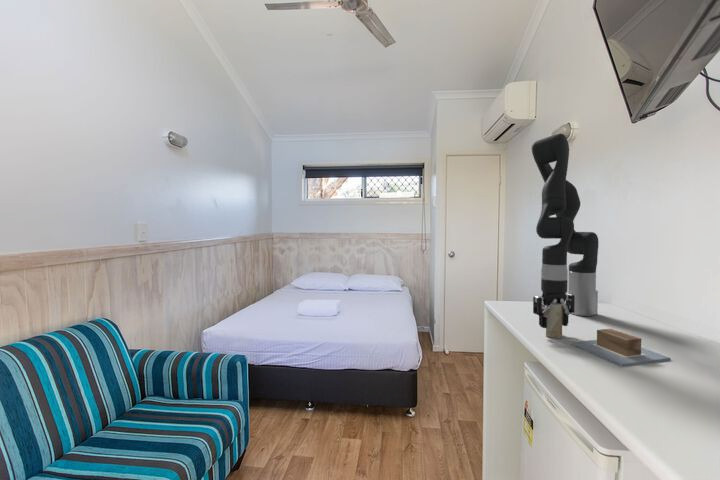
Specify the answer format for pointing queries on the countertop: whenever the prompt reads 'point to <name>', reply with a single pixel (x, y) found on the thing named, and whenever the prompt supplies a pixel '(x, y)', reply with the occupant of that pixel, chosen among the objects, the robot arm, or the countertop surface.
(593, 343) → the plate
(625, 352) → the walnut slab
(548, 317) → the box
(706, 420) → the countertop surface
